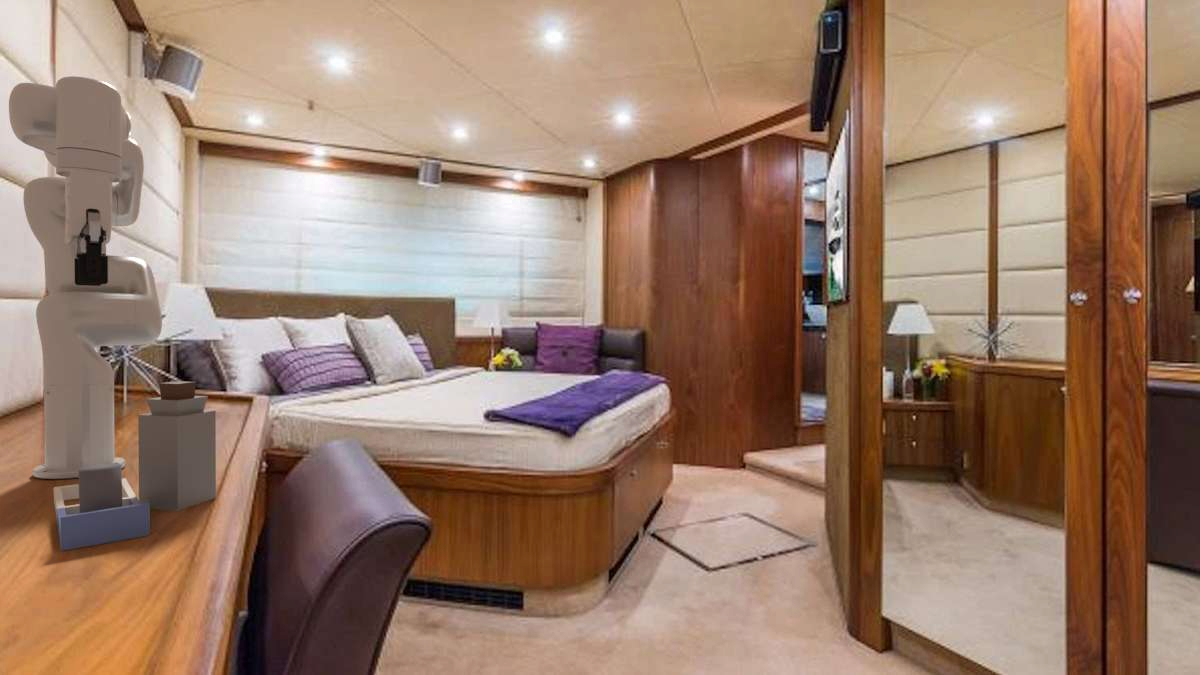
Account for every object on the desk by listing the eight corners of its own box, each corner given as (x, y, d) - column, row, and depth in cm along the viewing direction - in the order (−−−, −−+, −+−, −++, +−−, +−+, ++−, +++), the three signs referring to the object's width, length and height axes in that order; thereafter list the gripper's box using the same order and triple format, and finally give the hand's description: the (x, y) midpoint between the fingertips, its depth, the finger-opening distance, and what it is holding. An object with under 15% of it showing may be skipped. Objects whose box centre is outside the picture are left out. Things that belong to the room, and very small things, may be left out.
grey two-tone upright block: (78, 527, 83) (76, 467, 82) (120, 520, 86) (118, 462, 85) (82, 536, 79) (80, 473, 79) (125, 528, 82) (123, 467, 82)
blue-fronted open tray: (53, 500, 94) (53, 474, 94) (125, 490, 100) (125, 465, 100) (61, 551, 74) (60, 517, 74) (149, 535, 80) (149, 504, 80)
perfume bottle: (177, 510, 90) (177, 385, 90) (139, 507, 92) (138, 383, 91) (215, 497, 97) (215, 381, 96) (179, 494, 98) (178, 379, 98)
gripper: (53, 172, 96) (55, 285, 97) (58, 151, 83) (59, 281, 84) (115, 180, 101) (116, 287, 102) (128, 162, 88) (129, 284, 89)
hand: (90, 284), depth 93 cm, fingers open, 9 cm apart
